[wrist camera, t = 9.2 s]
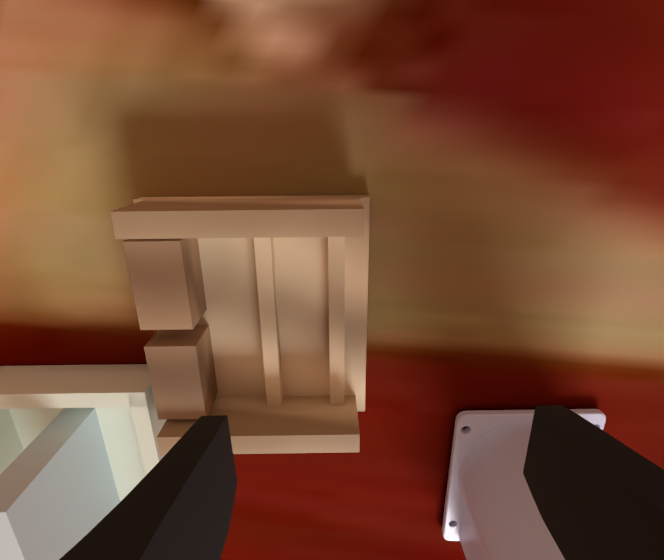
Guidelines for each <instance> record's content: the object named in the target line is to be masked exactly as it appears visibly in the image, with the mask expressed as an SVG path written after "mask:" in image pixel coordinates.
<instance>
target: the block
mask: <svg viewBox="0 0 664 560" xmlns="http://www.w3.org/2000/svg"><path fill="white" fill-rule="evenodd" d="M119 503H120V499H119V496H118V492H117V488H116V484H115V481H114V477H113V473H112V469H111V466H110V462H109V458H108V454H107V451H106V447H105V443H104V439H103V436H102V432H101V428H100V424H99V421H98V417H97V413H96V409H95V408H64V409H63V410H62V411H61V412H60V413H59V414H58V415H57V416H56V418H55V419H54V420H53V421H52V422H51V423H50V424H49V425H48V426H47V427H46V428H45V429H44V430H43V431H42V432H41V433H40V434H39V435H38V436H37V437H36V438H35V439H34V440H33V441H32V442H31V443H30V444H29V445H28V446H27V447H26V448H25V449H24V450H23V452H22V453H21V454H20V455H19V456H18V457H17V458H16V459H15V460H14V461H13V462H12V463H11V464H10V465H9V466H8V467H7V468H6V469H5V470H4V471H3V472H2V473H1V474H0V560H59V559H60V558H61V557H63V556H64V555H65V554H66V553H67V552H68V551H69V550H70V549H71V548H73V547H74V546H75V545H76V544H77V543H78V542H79V541H80V540H81V539H82V538H83V537H84V536H86V535H87V534H88V533H89V532H90V531H91V530H92V529H93V528H94V527H95V526H96V525H97V524H98V523H99V522H100V521H101V520H102V519H103V518H104V517H105V516H106V515H107V514H108V513H109V512H110V511H111V510H112V509H113V508H114V507H115V506H117V505H118V504H119Z"/></svg>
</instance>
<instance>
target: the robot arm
mask: <svg viewBox="0 0 664 560" xmlns="http://www.w3.org/2000/svg"><path fill="white" fill-rule="evenodd" d="M605 421H606V416H605V415H604V413H603V412H602V411H600V410H599V409H568V408H566V407H564V406H563V405H542V406H535V410H474V411H462V412H460V413H458V414H457V416H456V419H455V427H454V435H453V443H452V451H451V459H450V467H449V476H448V484H447V492H446V500H445V508H444V516H443V524H442V534H443V537H444V539H446V540H448V541H460V542H461V545H462V548H463V551H464V554H465V557H466V560H664V470H663V469H662V468H660V467H658V466H657V465H655V464H654V463H652V462H651V461H649V460H647V459H646V458H644V457H643V456H641V455H640V454H638V453H637V452H635V451H634V450H632V449H630V448H629V447H627V446H626V445H624V444H623V443H621V442H620V441H618V440H617V439H615V438H614V437H612V436H611V435H609V434H607V433H606V432H604V431H603V428H604V425H605ZM465 426H468V427H467V428H465V429H462V428H463V427H465ZM236 486H237V477H236V470H235V464H234V457H233V450H232V443H231V437H230V430H229V423H228V416H227V415H215V416H201V417H200V418H199V419H198V420H197V421H196V422H195V423H194V424H193V425H192V426H191V427H190V428H189V429H188V430H187V432H186V433H185V434H184V435H183V436H182V437H181V438H180V439H179V440H178V441H177V443H176V444H175V445H174V446H173V447H172V448H171V449H170V450H169V451H168V452H167V454H166V455H165V456H164V457H163V458H162V459H161V460H160V461H159V462H158V463H157V464H156V465H155V466H154V468H153V469H152V470H151V471H150V472H149V473H148V474H147V475H146V476H145V477H144V478H143V479H142V480H141V481H140V482H139V483H138V484H137V485H136V486H135V487H134V488H133V489H132V491H131V492H130V493H129V494H128V495H127V496H126V497H125V498H124V499H123V500H122V501H121V502H120V503H119V504H118V505H117V506H115V507H114V508H113V509H112V510H111V511H110V512H109V513H108V514H107V515H106V516H105V517H104V518H103V519H102V520H101V521H100V522H99V523H98V524H97V525H96V526H95V527H94V528H93V529H92V530H91V531H90V532H89V533H88V534H87V535H86V536H84V537H83V538H82V539H81V540H80V541H79V542H78V543H77V544H76V545H75V546H74V547H73V548H71V549H70V550H69V551H68V552H67V553H66V554H65V555H64V556H63V557H61V558H60V559H59V560H220V558H221V555H222V551H223V548H224V544H225V541H226V537H227V534H228V530H229V525H230V520H231V515H232V509H233V504H234V498H235V492H236Z"/></svg>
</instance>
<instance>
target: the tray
mask: <svg viewBox="0 0 664 560" xmlns="http://www.w3.org/2000/svg"><path fill="white" fill-rule="evenodd" d="M64 408H95V409H96V413H97V417H98V421H99V424H100V428H101V432H102V436H103V439H104V443H105V447H106V451H107V454H108V458H109V462H110V466H111V469H112V473H113V477H114V481H115V484H116V488H117V492H118V496H119V499H120V502H121V501H122V500H123V499H124V498H125V497H126V496H127V495H128V494H129V493H130V492H131V491H132V489H133V488H134V487H135V486H136V485H137V484H138V483H139V482H140V481H141V480H142V479H143V478H144V477H145V476H146V475H147V474H148V473H149V472H150V471H151V470H152V469H153V468H154V466H155V465H156V464H157V463H158V462H159V461H160V460H161V459H162V458H163V457H164V456H165V455H160V452H159V447H158V442H157V436H158V434H159V432H160V430H161V429H162V427H163V425H164V423H165V422H166V420H167V419H164V420H158V416H157V411H156V406H155V401H154V396H153V391H152V386H151V381H150V376H149V371H148V366H147V364H112V365H35V366H0V474H1V473H2V472H3V471H4V470H5V469H6V468H7V467H8V466H9V465H10V464H11V463H12V462H13V461H14V460H15V459H16V458H17V457H18V456H19V455H20V454H21V453H22V452H23V450H24V449H25V448H26V447H27V446H28V445H29V444H30V443H31V442H32V441H33V440H34V439H35V438H36V437H37V436H38V435H39V434H40V433H41V432H42V431H43V430H44V429H45V428H46V427H47V426H48V425H49V424H50V423H51V422H52V421H53V420H54V419H55V418H56V416H57V415H58V414H59V413H60V412H61V411H62V410H63V409H64Z"/></svg>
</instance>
